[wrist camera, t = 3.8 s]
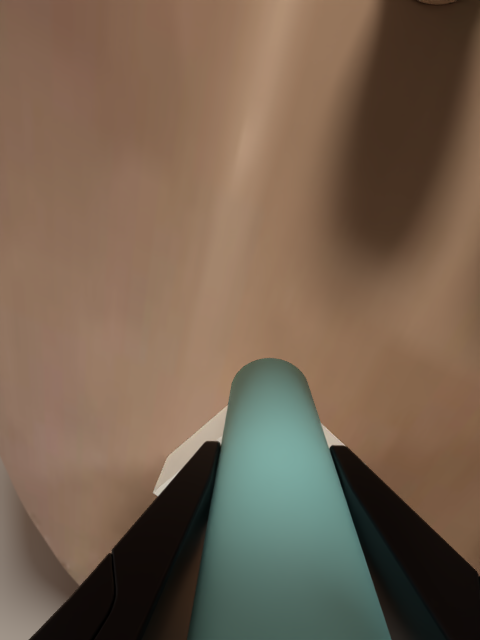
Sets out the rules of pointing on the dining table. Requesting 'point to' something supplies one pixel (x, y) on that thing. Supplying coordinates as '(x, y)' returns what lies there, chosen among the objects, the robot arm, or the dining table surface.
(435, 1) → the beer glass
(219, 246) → the dining table surface
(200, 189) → the dining table surface
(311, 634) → the peg
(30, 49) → the dining table surface
